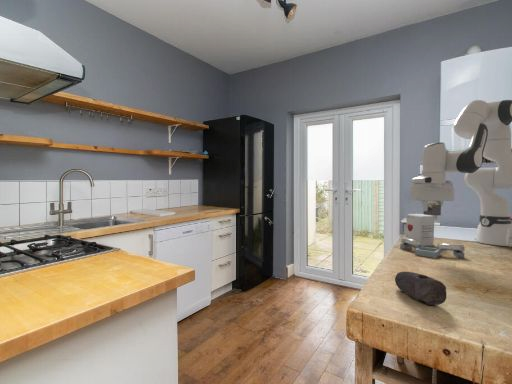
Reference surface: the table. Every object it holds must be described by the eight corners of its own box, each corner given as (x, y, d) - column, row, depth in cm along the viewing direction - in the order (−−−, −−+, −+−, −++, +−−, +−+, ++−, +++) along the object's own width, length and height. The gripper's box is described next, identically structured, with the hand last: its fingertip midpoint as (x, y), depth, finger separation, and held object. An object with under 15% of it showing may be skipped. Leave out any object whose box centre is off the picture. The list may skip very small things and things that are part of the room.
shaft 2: (440, 256, 117) (440, 244, 116) (436, 254, 121) (436, 242, 121) (465, 258, 114) (465, 246, 114) (460, 255, 118) (460, 244, 118)
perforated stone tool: (388, 288, 82) (389, 265, 82) (403, 286, 84) (404, 264, 83) (431, 311, 68) (432, 283, 68) (448, 309, 69) (449, 281, 69)
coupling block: (431, 214, 123) (432, 202, 123) (440, 215, 119) (441, 203, 119) (423, 214, 122) (423, 202, 122) (432, 215, 118) (432, 203, 118)
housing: (420, 251, 125) (420, 246, 125) (440, 254, 120) (440, 249, 120) (414, 254, 120) (415, 249, 120) (435, 258, 114) (435, 252, 114)
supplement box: (405, 242, 143) (405, 214, 143) (418, 241, 146) (419, 213, 145) (420, 246, 135) (421, 216, 134) (434, 245, 137) (435, 215, 137)
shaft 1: (423, 252, 124) (423, 241, 124) (415, 252, 123) (416, 241, 123) (406, 247, 133) (407, 237, 133) (399, 248, 132) (399, 237, 131)
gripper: (446, 180, 126) (444, 210, 126) (408, 179, 121) (407, 210, 121) (459, 180, 119) (457, 212, 120) (419, 178, 115) (418, 211, 115)
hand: (432, 211), depth 120 cm, fingers closed on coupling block, 4 cm apart
